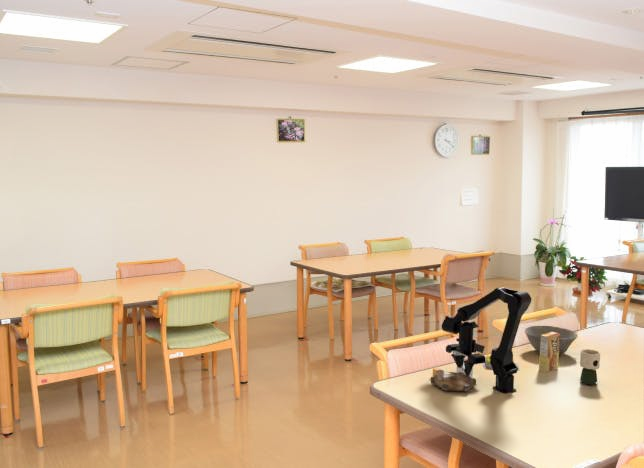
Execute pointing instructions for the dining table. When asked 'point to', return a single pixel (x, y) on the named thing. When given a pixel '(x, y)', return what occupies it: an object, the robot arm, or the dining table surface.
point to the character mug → (589, 365)
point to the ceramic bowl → (537, 331)
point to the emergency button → (488, 365)
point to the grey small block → (463, 370)
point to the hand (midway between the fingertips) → (464, 374)
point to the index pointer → (435, 371)
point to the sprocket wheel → (453, 381)
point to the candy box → (549, 351)
